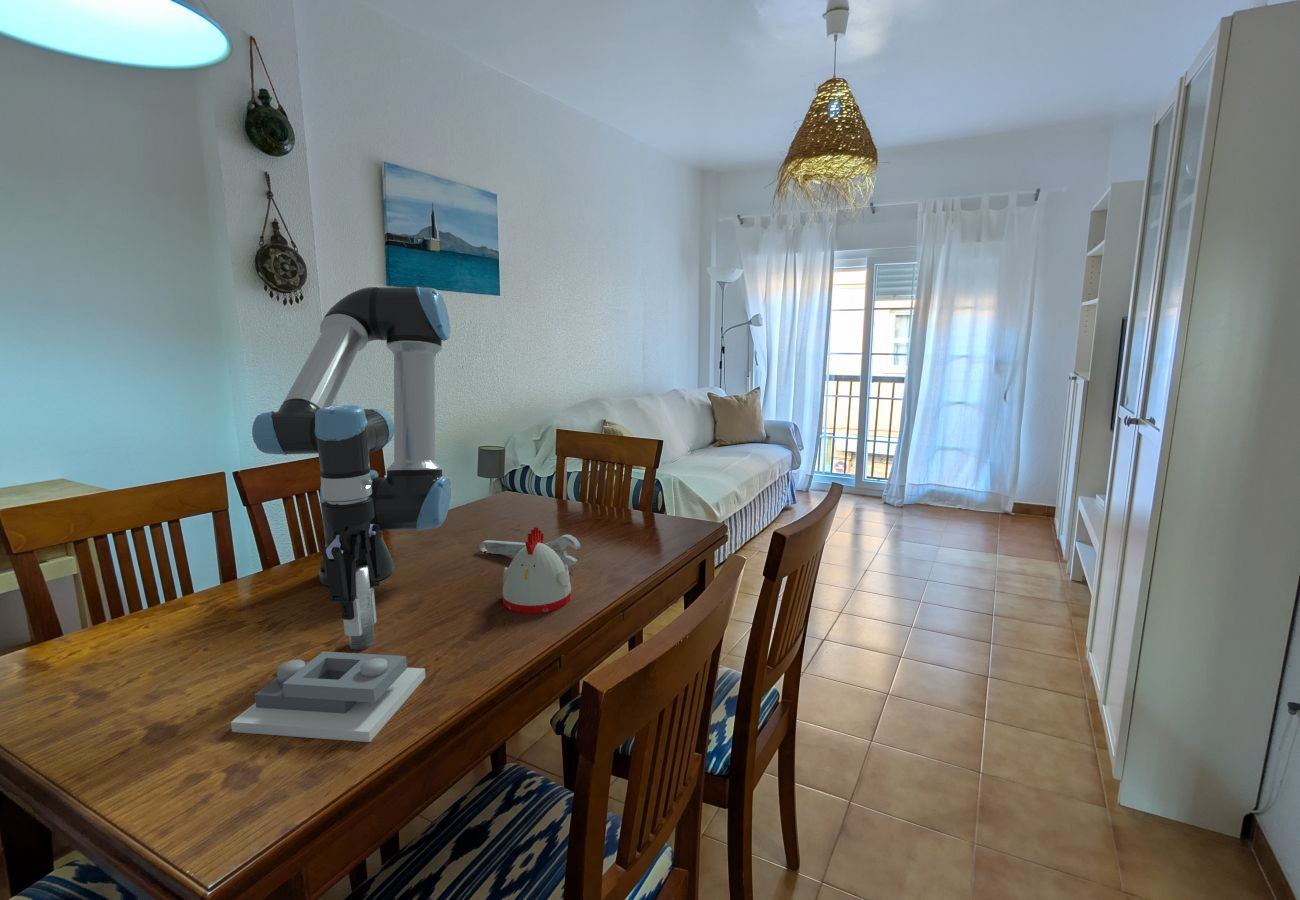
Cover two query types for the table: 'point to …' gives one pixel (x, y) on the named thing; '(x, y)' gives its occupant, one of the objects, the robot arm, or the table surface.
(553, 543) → the wrench
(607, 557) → the table surface
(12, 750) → the table surface
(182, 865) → the table surface
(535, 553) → the kitchen timer
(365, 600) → the pin
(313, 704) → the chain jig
